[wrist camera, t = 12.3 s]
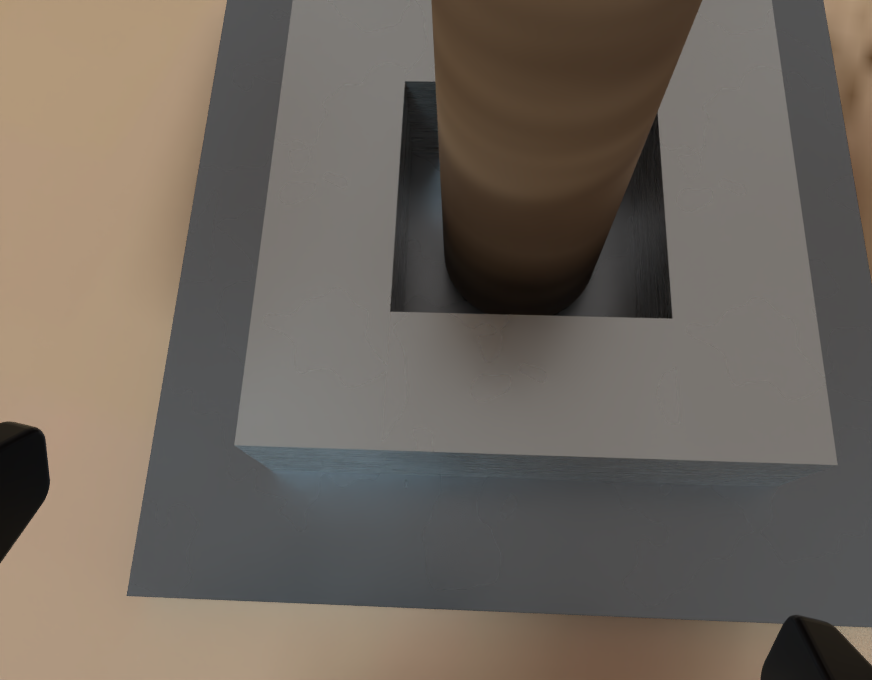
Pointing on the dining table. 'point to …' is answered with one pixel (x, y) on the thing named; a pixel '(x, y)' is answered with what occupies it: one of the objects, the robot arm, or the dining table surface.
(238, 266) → the socket
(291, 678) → the dining table surface
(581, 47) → the peg
